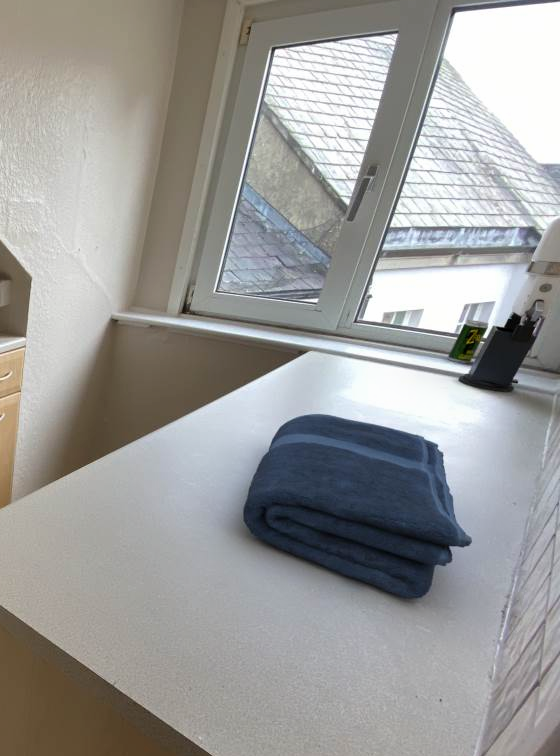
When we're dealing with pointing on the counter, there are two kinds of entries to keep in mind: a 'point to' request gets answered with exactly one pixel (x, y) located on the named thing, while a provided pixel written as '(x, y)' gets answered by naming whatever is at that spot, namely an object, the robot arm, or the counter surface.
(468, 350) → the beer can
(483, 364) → the waste bin
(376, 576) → the towel
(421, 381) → the counter surface
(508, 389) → the turntable
